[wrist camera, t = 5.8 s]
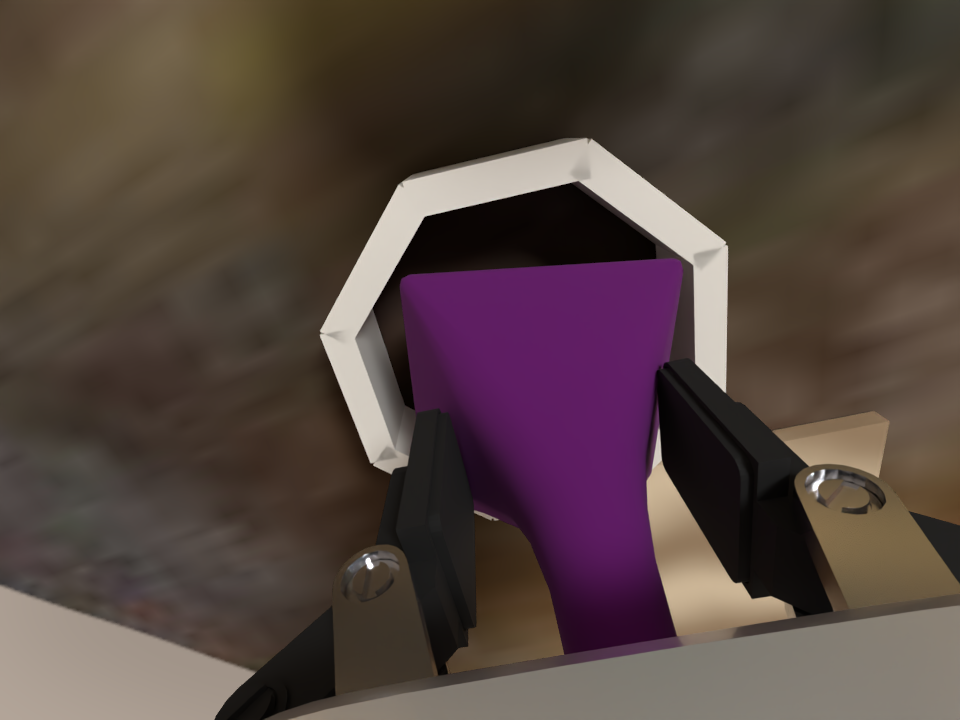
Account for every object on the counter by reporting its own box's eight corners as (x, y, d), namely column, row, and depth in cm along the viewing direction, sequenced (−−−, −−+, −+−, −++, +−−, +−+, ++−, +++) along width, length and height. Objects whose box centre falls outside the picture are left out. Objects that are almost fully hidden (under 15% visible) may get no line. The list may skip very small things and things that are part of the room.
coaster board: (840, 598, 25) (852, 612, 24) (617, 636, 26) (621, 650, 25) (874, 411, 20) (889, 421, 19) (593, 465, 21) (598, 477, 20)
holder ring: (689, 431, 20) (724, 477, 17) (408, 486, 21) (400, 538, 18) (680, 110, 15) (729, 104, 12) (304, 199, 15) (271, 212, 13)
